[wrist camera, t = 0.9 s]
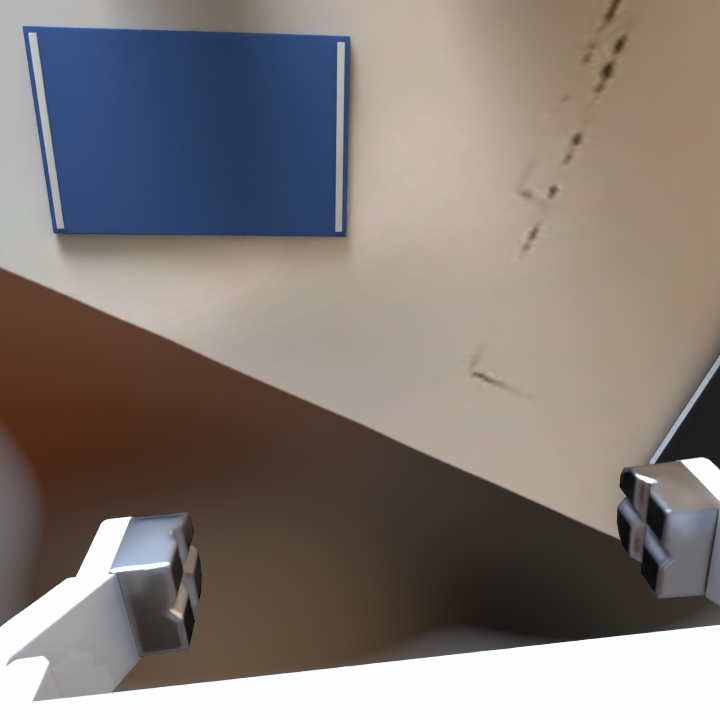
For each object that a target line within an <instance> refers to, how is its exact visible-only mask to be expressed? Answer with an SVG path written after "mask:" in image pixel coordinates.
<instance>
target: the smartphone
mask: <svg viewBox="0 0 720 720" xmlns="http://www.w3.org/2000/svg"><path fill="white" fill-rule="evenodd" d="M700 457H703V458H706V459H709V460H710V461H711V462H712V463H713V464H714V465H715V466H716V467H717V468H718V469H719V470H720V356H719V357H718V359H717V360H716V362H715V363H714V365H713V366H712V368H711V369H710V371H709V372H708V374H707V375H706V377H705V378H704V380H703V382H702V383H701V385H700V386H699V388H698V389H697V391H696V392H695V394H694V395H693V397H692V398H691V400H690V401H689V403H688V404H687V406H686V407H685V409H684V410H683V412H682V413H681V415H680V416H679V418H678V419H677V421H676V422H675V424H674V426H673V427H672V429H671V430H670V432H669V433H668V435H667V436H666V438H665V439H664V441H663V442H662V444H661V445H660V447H659V448H658V450H657V451H656V453H655V454H654V456H653V457H652V459H651V461H650V464H658V463H667V462H675V461H679V460H686V459H693V458H700ZM650 464H649V465H650Z"/></svg>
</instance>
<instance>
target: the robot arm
mask: <svg viewBox="0 0 720 720" xmlns="http://www.w3.org/2000/svg"><path fill="white" fill-rule="evenodd" d="M619 487H620V488H621V489H622V491H623V492H624V494H625V495H626V497H625V498H624V500H623V501H622V502H621V503H620V504H619V506H618V510H617V525H618V531H619V536H620V539H621V541H622V544H623V546H624V548H625V550H626V551H627V553H628V554H629V556H630V557H632V558H634V559H636V560H638V561H640V562H642V565H641V574H642V575H643V577H644V578H645V580H646V581H647V583H648V584H649V586H650V587H651V589H652V590H653V592H654V593H655V595H656V596H657V598H669V597H681V596H694V595H706V597H707V598H708V599H710V600H711V601H713V602H714V603H716V604H717V605H719V606H720V470H719V469H718V468H717V467H716V466H715V465H714V464H713V463H712V462H711V461H710V460H709V459H706V458H703V457H700V458H693V459H686V460H679V461H675V462H667V463H658V464H650V465H642V466H633V467H625V468H623V471H622V473H621V477H620V486H619ZM193 532H194V530H193V526H192V522H191V517H190V516H189V514H188V513H187V512H186V513H172V514H160V515H148V516H136V517H125V518H116V519H107V520H105V521H104V522H102V524H101V525H100V527H99V530H98V532H97V534H96V536H95V538H94V540H93V542H92V544H91V547H90V549H89V551H88V553H87V555H86V557H85V559H84V561H83V563H82V565H81V568H80V570H79V572H78V574H77V576H76V577H75V578H67V579H66V580H65V581H63V582H62V583H61V584H59V585H58V586H57V587H55V588H54V589H52V590H51V591H50V592H48V593H47V594H46V595H44V596H43V597H41V598H40V599H39V600H37V601H36V602H34V603H33V604H32V605H30V606H29V607H27V608H26V609H25V610H23V611H22V612H21V613H19V614H18V615H16V616H15V617H14V618H12V619H11V620H10V621H8V622H7V623H6V624H4V625H3V626H2V627H0V720H720V625H715V626H706V627H697V628H688V629H680V630H671V631H662V632H653V633H644V634H635V635H626V636H617V637H608V638H599V639H590V640H581V641H572V642H563V643H554V644H546V645H537V646H528V647H520V648H510V649H501V650H492V651H483V652H475V653H465V654H456V655H447V656H439V657H429V658H421V659H411V660H402V661H393V662H384V663H375V664H367V665H358V666H349V667H340V668H331V669H323V670H313V671H304V672H295V673H286V674H277V675H269V676H259V677H250V678H241V679H233V680H223V681H214V682H205V683H196V684H188V685H178V686H170V687H161V688H151V689H143V690H134V691H125V692H116V693H111V692H112V691H113V689H114V688H115V687H116V686H117V685H118V684H119V683H120V682H121V680H122V679H123V678H124V677H125V676H126V675H127V673H128V672H129V671H130V670H131V669H132V668H133V667H134V665H135V664H136V663H137V662H138V661H139V657H143V656H150V655H157V654H164V653H172V652H179V651H186V650H189V645H190V640H191V636H192V632H193V627H194V622H195V620H194V616H193V611H192V609H193V608H194V607H195V606H196V605H197V604H198V603H199V598H200V593H201V576H202V574H201V564H200V559H199V553H198V551H197V550H196V549H195V548H194V547H193V546H191V541H192V537H193Z"/></svg>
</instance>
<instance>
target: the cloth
mask: <svg viewBox="0 0 720 720" xmlns="http://www.w3.org/2000/svg"><path fill="white" fill-rule="evenodd" d="M23 32H24V39H25V45H26V52H27V59H28V65H29V72H30V79H31V85H32V92H33V99H34V105H35V112H36V119H37V125H38V132H39V139H40V145H41V152H42V159H43V165H44V172H45V179H46V185H47V192H48V198H49V205H50V212H51V218H52V225H53V232H54V233H64V234H157V235H250V236H343V237H346V225H347V168H348V110H349V52H350V36H326V35H295V34H263V33H231V32H200V31H168V30H137V29H105V28H73V27H42V26H23Z"/></svg>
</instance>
